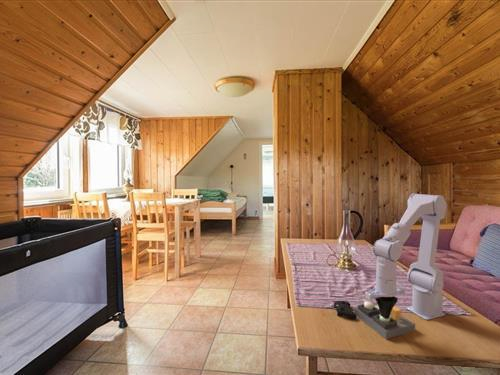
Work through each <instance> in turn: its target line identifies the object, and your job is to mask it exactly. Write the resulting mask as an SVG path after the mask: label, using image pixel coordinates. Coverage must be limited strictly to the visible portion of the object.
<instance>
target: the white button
mask: <svg viewBox="0 0 500 375" xmlns="http://www.w3.org/2000/svg"><path fill="white" fill-rule="evenodd" d="M363 304H364V308H365V309H366V310H370V311H371V310H373V304H374V303H373V302H372V301H370V300H365V301H363Z"/></svg>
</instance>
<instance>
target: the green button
mask: <svg viewBox="0 0 500 375" xmlns="http://www.w3.org/2000/svg"><path fill="white" fill-rule="evenodd" d="M380 320H381V321H382V322H384V323H388V322H390V317H389V318H388V319H385V318H383V317H382V316H381V315H380Z"/></svg>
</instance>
